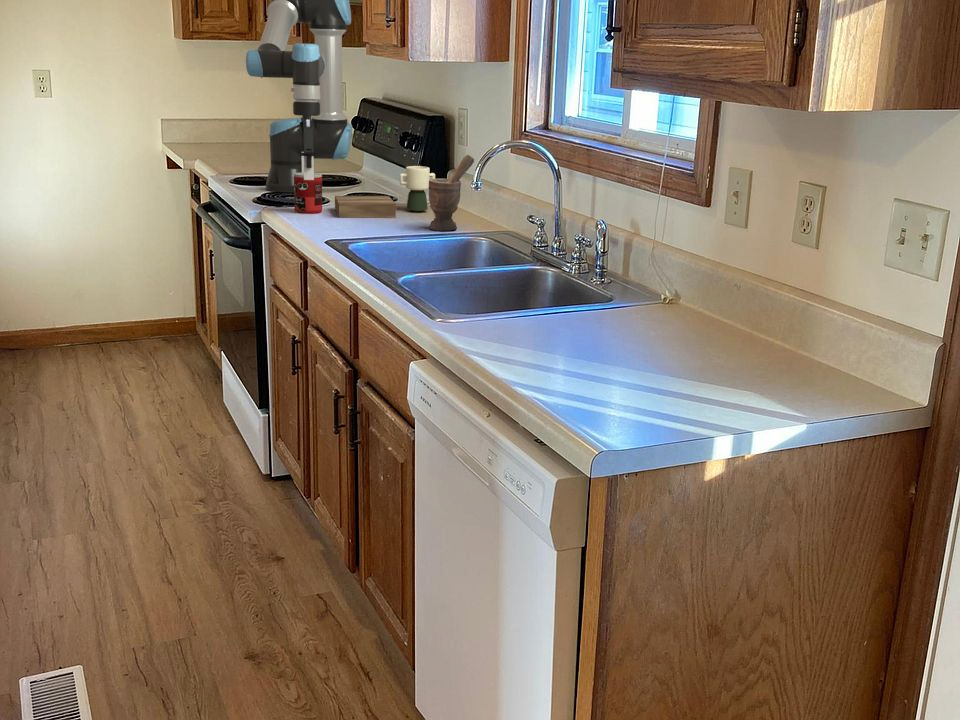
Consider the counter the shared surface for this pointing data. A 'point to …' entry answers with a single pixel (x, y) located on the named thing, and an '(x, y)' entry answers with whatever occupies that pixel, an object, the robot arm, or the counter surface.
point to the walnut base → (365, 207)
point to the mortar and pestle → (447, 197)
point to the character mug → (417, 186)
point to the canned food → (308, 194)
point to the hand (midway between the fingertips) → (307, 177)
